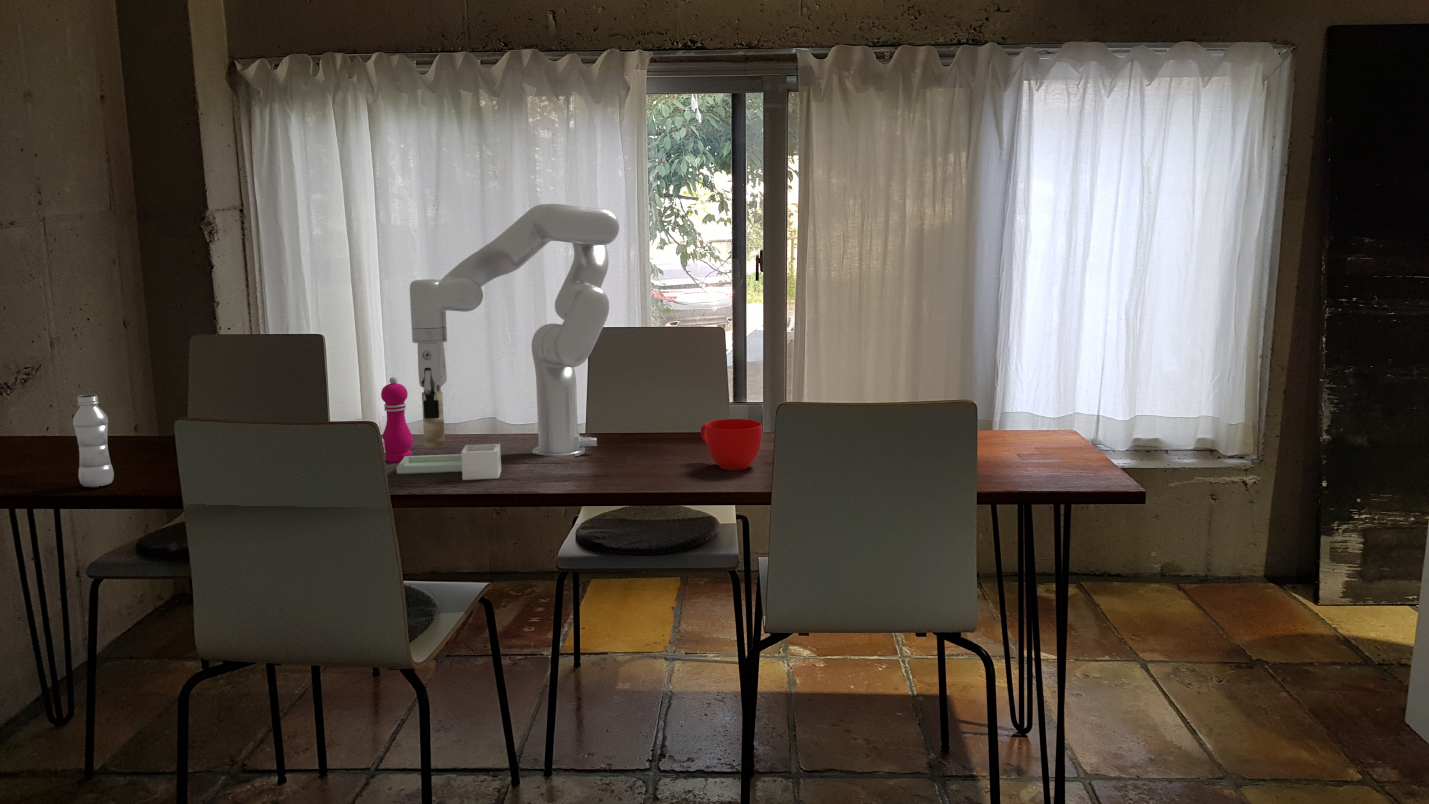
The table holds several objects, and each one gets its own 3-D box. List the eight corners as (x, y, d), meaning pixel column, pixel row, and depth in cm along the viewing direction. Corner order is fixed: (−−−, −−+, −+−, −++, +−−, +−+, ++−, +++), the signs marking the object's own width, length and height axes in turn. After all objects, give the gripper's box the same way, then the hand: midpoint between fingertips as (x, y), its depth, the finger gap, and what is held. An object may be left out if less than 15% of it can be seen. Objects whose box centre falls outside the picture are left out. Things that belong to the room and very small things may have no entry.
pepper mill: (405, 463, 246) (399, 379, 243) (377, 462, 248) (371, 378, 244) (419, 456, 253) (414, 375, 250) (392, 455, 255) (386, 374, 251)
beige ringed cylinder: (446, 442, 240) (443, 390, 238) (443, 446, 235) (440, 393, 233) (426, 443, 239) (423, 391, 237) (422, 447, 235) (420, 394, 233)
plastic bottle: (88, 483, 231) (78, 393, 227) (120, 482, 231) (110, 393, 228) (73, 490, 225) (62, 398, 221) (106, 489, 225) (96, 398, 222)
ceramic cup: (721, 455, 251) (721, 414, 249) (774, 466, 239) (774, 423, 238) (682, 464, 242) (681, 422, 240) (734, 476, 230) (734, 432, 229)
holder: (501, 474, 235) (500, 443, 234) (498, 482, 227) (497, 451, 226) (466, 475, 234) (465, 445, 233) (462, 484, 226) (461, 452, 225)
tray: (475, 464, 245) (475, 453, 244) (470, 475, 234) (470, 464, 234) (405, 466, 243) (405, 456, 243) (397, 478, 232) (396, 467, 232)
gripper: (441, 339, 225) (445, 422, 228) (451, 331, 242) (455, 409, 245) (405, 339, 225) (410, 423, 228) (418, 331, 241) (422, 409, 244)
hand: (433, 415), depth 236 cm, fingers closed on beige ringed cylinder, 4 cm apart
